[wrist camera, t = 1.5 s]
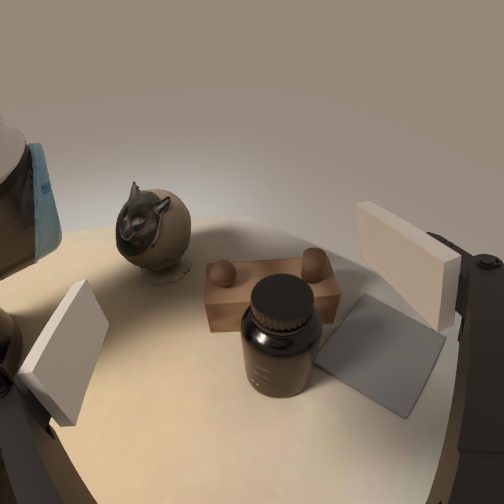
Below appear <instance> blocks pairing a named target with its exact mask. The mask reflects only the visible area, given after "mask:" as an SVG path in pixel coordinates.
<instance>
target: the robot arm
mask: <svg viewBox="0 0 504 504" xmlns="http://www.w3.org/2000/svg"><path fill="white" fill-rule="evenodd" d="M355 208H356V217H357V225H358V235H359V244H360V255H361V257H362V258H363V259H364V260H365V261H366V262H367V263H368V264H369V265H370V266H371V267H372V268H373V269H374V270H375V271H376V272H377V273H378V274H379V275H380V276H381V277H383V278H384V279H385V280H386V281H387V282H388V283H389V284H390V285H391V286H392V287H393V288H394V289H395V290H396V291H397V292H398V293H399V294H400V295H401V296H402V297H403V298H404V299H405V300H406V301H407V302H408V303H409V304H410V305H411V306H412V307H413V308H414V309H415V310H416V311H417V312H418V313H419V314H420V316H421V317H422V318H423V319H424V320H425V321H426V322H427V323H428V324H429V325H430V326H431V327H432V328H433V329H434V330H435V331H436V332H437V333H438V332H440V331H442V330H444V329H446V328H448V327H450V326H452V325H453V324H454V317H455V311H457V312H458V313H459V314H460V315H461V316H462V320H461V325H460V331H459V336H458V341H459V353H458V363H457V371H456V379H455V386H454V393H453V399H452V405H451V411H450V416H449V422H448V426H447V431H446V436H445V440H444V444H443V449H442V453H441V457H440V460H439V464H438V468H437V471H436V475H435V478H434V481H433V485H432V488H431V491H430V494H429V497H428V499H427V501H426V504H504V264H503V262H502V261H501V260H500V259H499V258H497V257H495V256H492V255H488V254H479V255H476V256H472V255H471V254H469V253H467V252H466V251H464V250H463V249H461V248H459V247H458V246H456V245H454V244H453V243H451V242H450V241H447V240H446V239H445V238H443V237H441V236H440V235H436V234H433V233H430V232H427V233H425V232H423V231H421V230H419V229H418V228H416V227H415V226H413V225H411V224H410V223H408V222H406V221H404V220H403V219H401V218H399V217H398V216H396V215H394V214H392V213H391V212H389V211H387V210H385V209H383V208H382V207H380V206H378V205H376V204H374V203H373V202H371V201H365V202H361V203H358V204H355ZM61 240H62V231H61V226H60V222H59V217H58V213H57V209H56V206H55V201H54V197H53V193H52V189H51V184H50V180H49V174H48V170H47V165H46V160H45V156H44V151H43V148H42V145H41V144H40V143H35V144H31V143H30V144H29V145H28V146H27V145H26V141H25V138H24V135H23V134H22V132H21V131H20V130H18V129H16V128H13V127H9V126H5V125H4V123H3V120H2V117H1V114H0V281H1V280H3V279H5V278H7V277H9V276H10V275H12V274H14V273H16V272H18V271H20V270H22V269H24V268H26V267H28V266H30V265H32V264H36V263H37V262H38V260H40V259H41V258H43V257H45V256H46V255H48V254H50V253H51V252H53V251H55V250H56V249H57V248H58V246H59V245H60V243H61ZM108 328H109V323H108V321H107V319H106V317H105V315H104V313H103V311H102V309H101V307H100V305H99V303H98V301H97V299H96V297H95V295H94V293H93V291H92V289H91V287H90V285H89V283H88V281H87V279H84V280H81V281H78V282H74V283H73V285H72V286H71V288H70V289H69V291H68V292H67V294H66V295H65V297H64V298H63V300H62V301H61V303H60V304H59V306H58V307H57V309H56V310H55V312H54V313H53V315H52V316H51V318H50V320H49V321H48V323H47V324H46V326H45V327H44V329H43V331H42V332H41V334H40V336H39V337H38V339H37V341H36V342H35V344H34V345H33V346H32V348H31V350H30V351H29V353H28V356H26V358H25V360H24V363H22V365H21V367H20V369H19V371H18V372H17V374H16V376H15V378H14V380H12V377H13V375H14V373H15V371H16V369H17V366H18V364H19V360H20V356H21V350H22V338H21V333H20V330H19V328H18V326H17V325H16V324H15V322H14V321H13V320H12V318H11V317H10V316H9V315H8V314H7V313H6V312H5V311H4V310H3V309H1V308H0V504H97V502H96V501H95V499H94V498H93V496H92V495H91V493H90V492H89V490H88V488H87V487H86V485H85V484H84V482H83V481H82V479H81V477H80V476H79V474H78V472H77V471H76V469H75V467H74V466H73V464H72V462H71V460H70V459H69V457H68V455H67V453H66V451H65V449H64V448H63V446H62V444H61V442H60V440H59V438H58V436H57V434H56V432H55V430H54V429H53V428H52V427H51V426H50V425H49V422H50V419H51V417H52V418H53V419H54V420H55V421H56V422H57V423H58V424H59V426H60V427H63V426H76V422H77V419H78V416H79V412H80V409H81V406H82V403H83V399H84V396H85V393H86V390H87V387H88V384H89V381H90V378H91V375H92V372H93V369H94V366H95V363H96V361H97V358H98V355H99V352H100V349H101V347H102V344H103V341H104V339H105V336H106V333H107V331H108Z"/></svg>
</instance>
